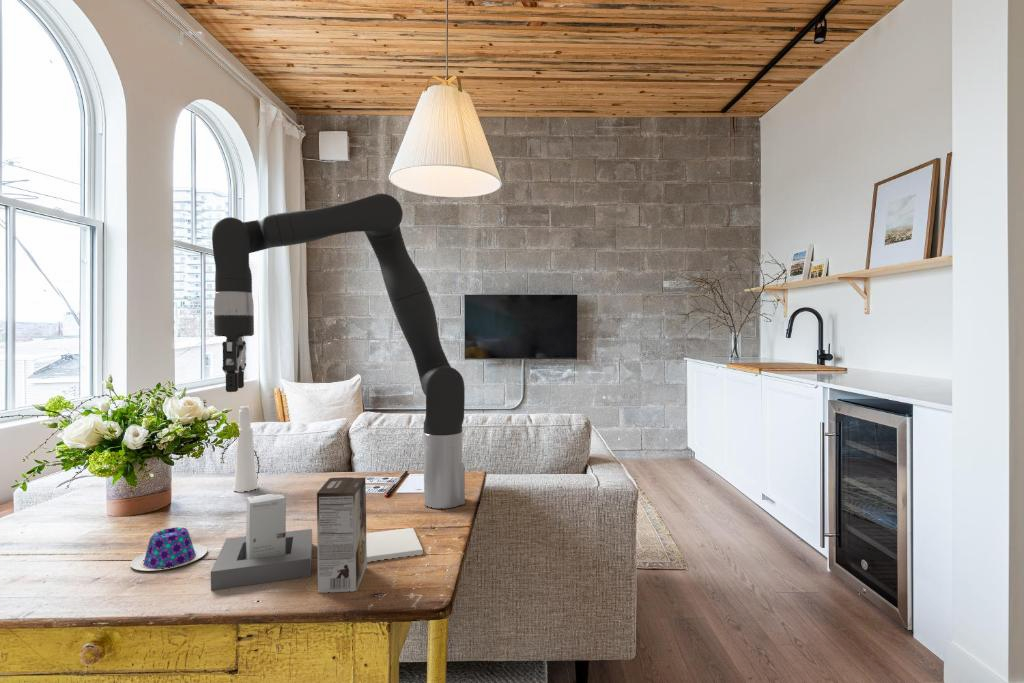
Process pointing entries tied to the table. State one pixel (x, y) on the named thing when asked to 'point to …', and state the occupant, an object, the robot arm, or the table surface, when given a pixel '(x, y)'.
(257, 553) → the skincare box
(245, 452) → the cosmetic bottle
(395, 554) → the white mat
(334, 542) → the coffee box
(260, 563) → the grey square frame
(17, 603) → the table surface
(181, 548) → the purple patterned hat
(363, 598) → the table surface
